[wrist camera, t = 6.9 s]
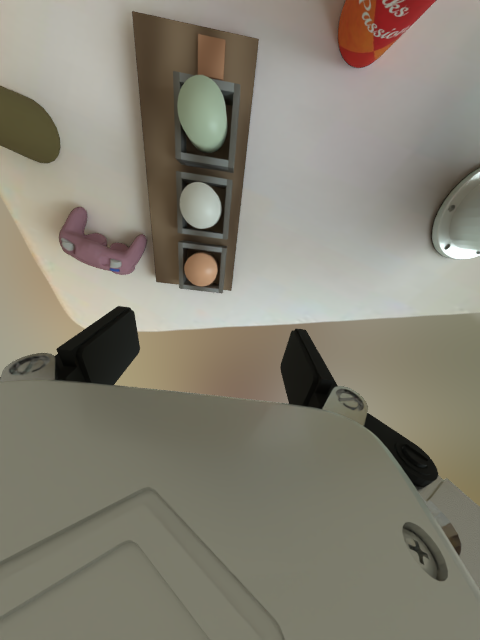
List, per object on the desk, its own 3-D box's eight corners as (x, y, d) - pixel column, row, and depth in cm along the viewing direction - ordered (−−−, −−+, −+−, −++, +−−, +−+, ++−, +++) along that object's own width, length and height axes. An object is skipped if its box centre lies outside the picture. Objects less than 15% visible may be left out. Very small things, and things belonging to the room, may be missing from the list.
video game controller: (86, 230, 29) (51, 256, 25) (77, 201, 25) (35, 226, 21) (149, 257, 31) (127, 285, 27) (149, 234, 28) (124, 262, 23)
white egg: (223, 189, 22) (221, 185, 19) (220, 230, 24) (218, 231, 22) (186, 183, 22) (179, 178, 19) (186, 225, 24) (180, 225, 21)
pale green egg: (229, 100, 19) (228, 80, 16) (225, 156, 21) (223, 147, 18) (185, 91, 18) (176, 70, 16) (185, 149, 20) (178, 139, 18)
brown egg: (219, 252, 27) (217, 256, 24) (217, 281, 29) (215, 288, 26) (189, 248, 27) (184, 251, 24) (189, 278, 29) (184, 284, 26)
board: (256, 55, 20) (261, 13, 16) (231, 286, 32) (230, 296, 28) (141, 30, 19) (116, -20, 15) (160, 278, 31) (149, 286, 27)
